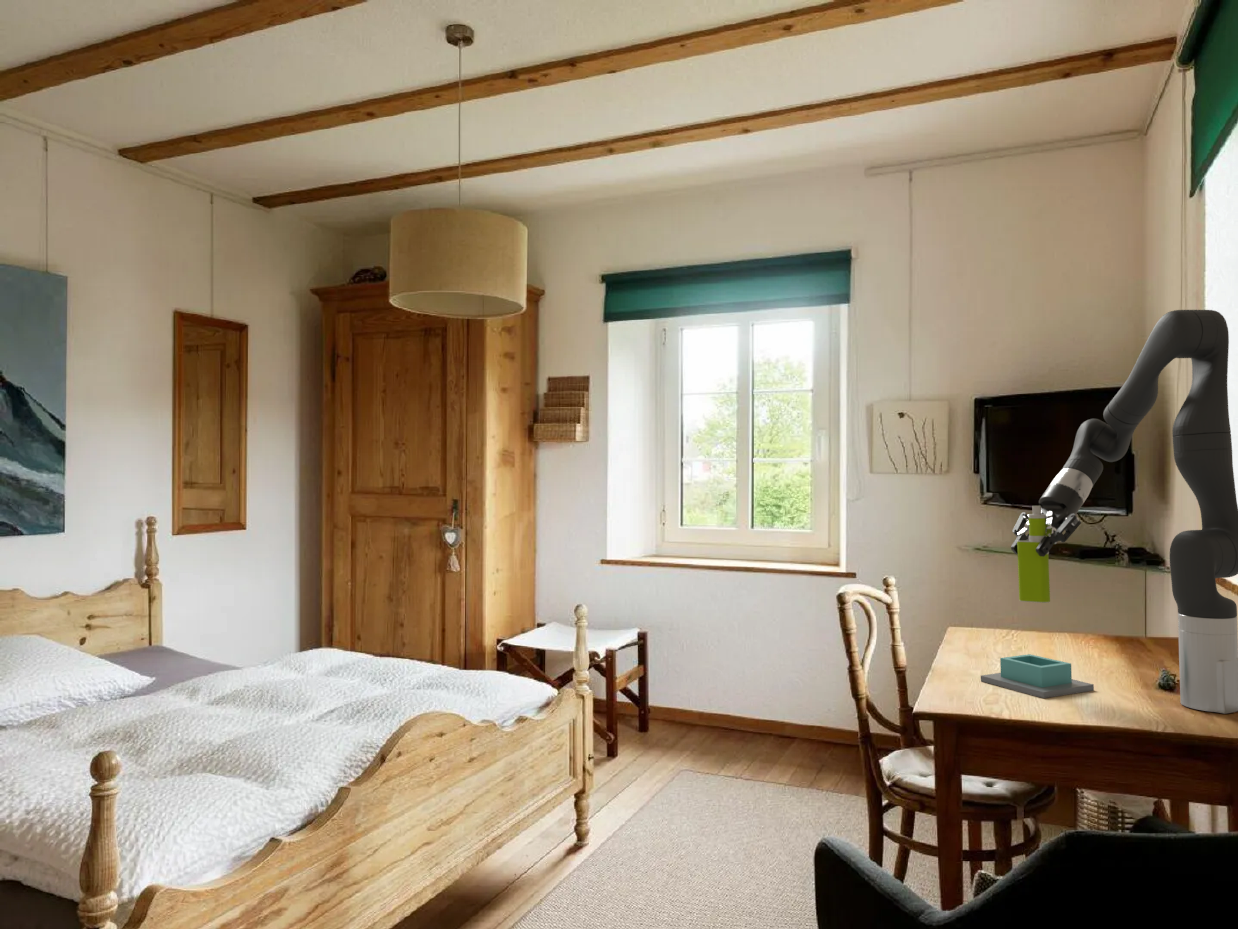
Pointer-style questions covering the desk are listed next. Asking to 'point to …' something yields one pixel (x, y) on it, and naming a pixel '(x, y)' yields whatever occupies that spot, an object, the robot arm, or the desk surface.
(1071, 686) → the dock
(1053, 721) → the desk surface
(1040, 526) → the vape
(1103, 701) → the desk surface
